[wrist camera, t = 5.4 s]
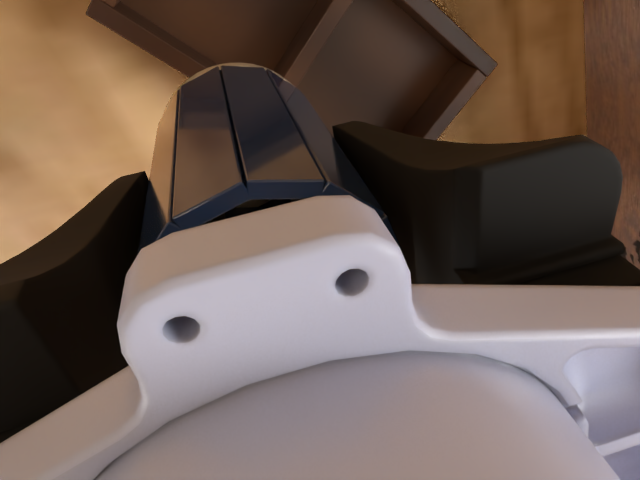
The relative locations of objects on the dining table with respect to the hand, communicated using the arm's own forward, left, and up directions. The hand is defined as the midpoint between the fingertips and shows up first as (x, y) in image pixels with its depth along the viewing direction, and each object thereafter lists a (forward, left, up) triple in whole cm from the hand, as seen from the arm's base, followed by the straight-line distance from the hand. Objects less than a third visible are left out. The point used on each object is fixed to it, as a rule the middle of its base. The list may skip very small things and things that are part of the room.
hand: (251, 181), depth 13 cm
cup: (0, 0, -3) cm, 3 cm away
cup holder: (+2, +4, -10) cm, 11 cm away
